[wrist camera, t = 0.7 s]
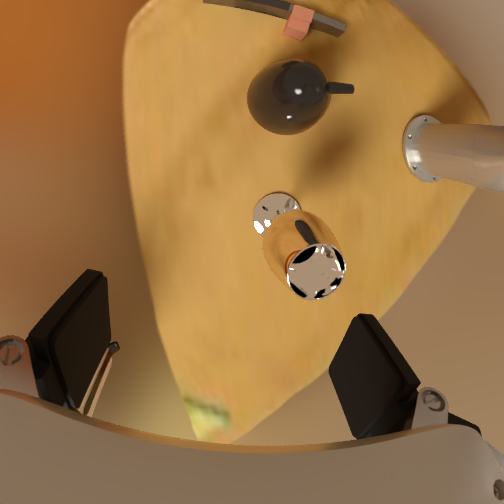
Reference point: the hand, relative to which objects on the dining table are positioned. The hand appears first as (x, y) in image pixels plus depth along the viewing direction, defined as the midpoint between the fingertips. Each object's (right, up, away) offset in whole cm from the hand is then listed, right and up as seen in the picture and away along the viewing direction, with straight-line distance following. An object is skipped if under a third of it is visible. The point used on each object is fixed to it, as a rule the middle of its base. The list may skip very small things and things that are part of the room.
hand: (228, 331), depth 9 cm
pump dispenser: (+5, +25, +26) cm, 36 cm away
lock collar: (+7, +37, +22) cm, 43 cm away
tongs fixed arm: (+3, +41, +19) cm, 46 cm away
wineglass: (+5, +8, +33) cm, 34 cm away
